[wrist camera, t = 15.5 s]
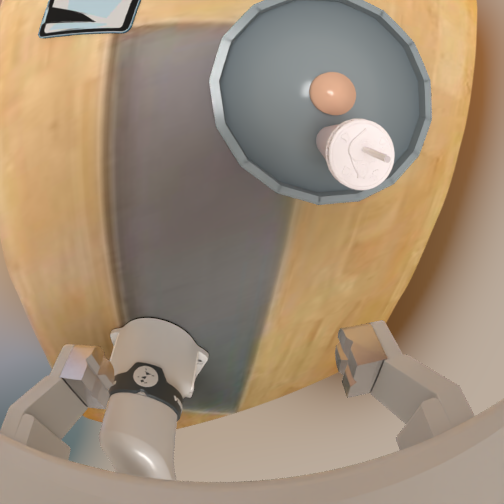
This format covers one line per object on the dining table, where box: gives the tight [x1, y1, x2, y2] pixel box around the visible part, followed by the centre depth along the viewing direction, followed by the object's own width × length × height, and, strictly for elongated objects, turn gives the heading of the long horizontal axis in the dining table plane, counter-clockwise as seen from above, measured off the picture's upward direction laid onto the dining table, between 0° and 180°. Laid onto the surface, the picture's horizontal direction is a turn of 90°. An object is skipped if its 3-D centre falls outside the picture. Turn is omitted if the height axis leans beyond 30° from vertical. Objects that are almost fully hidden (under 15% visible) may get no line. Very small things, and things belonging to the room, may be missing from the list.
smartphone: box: [38, 0, 141, 38], centre depth 20 cm, size 7×1×15 cm
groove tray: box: [209, 0, 432, 205], centre depth 27 cm, size 26×26×2 cm
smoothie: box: [316, 119, 395, 190], centre depth 24 cm, size 6×6×14 cm
